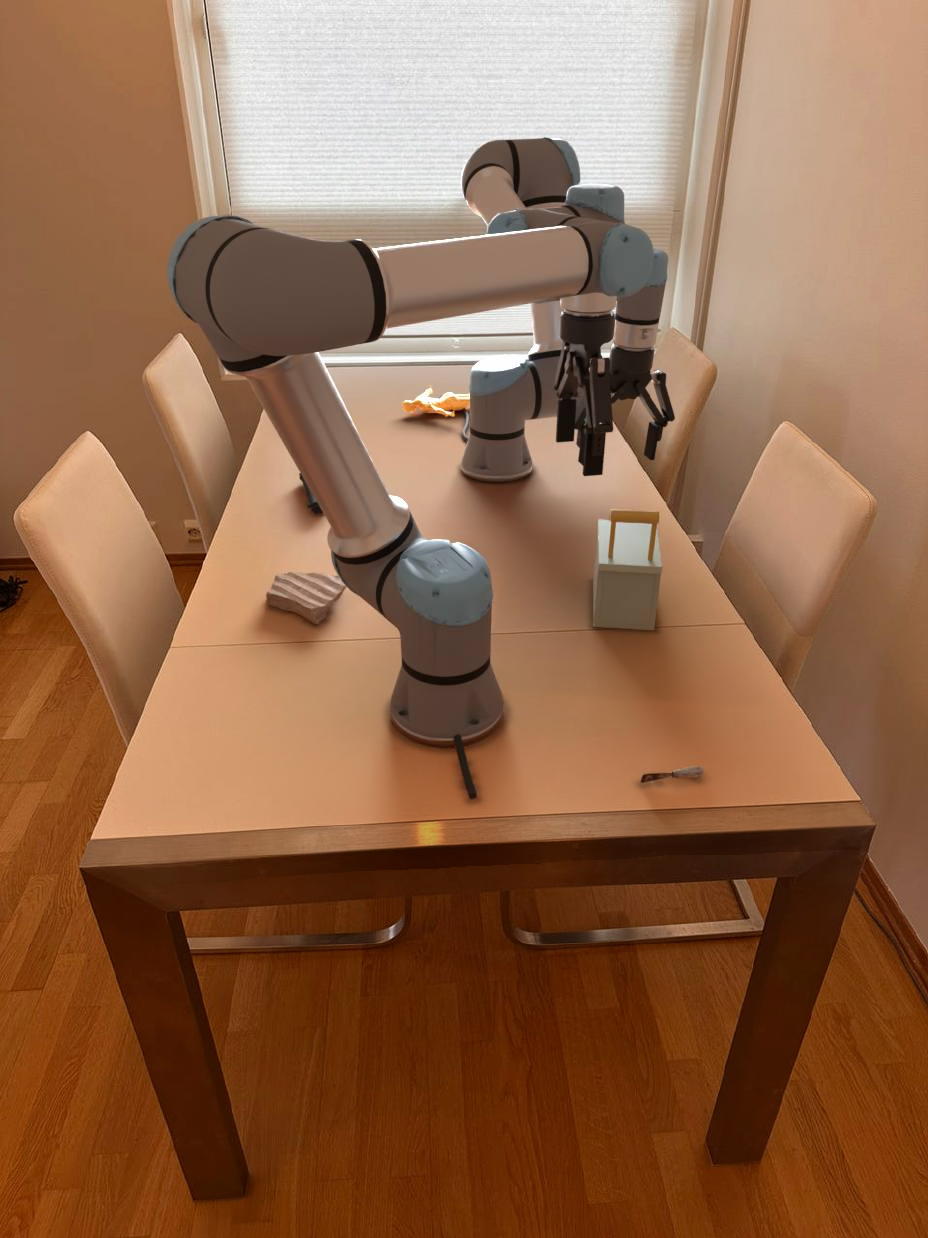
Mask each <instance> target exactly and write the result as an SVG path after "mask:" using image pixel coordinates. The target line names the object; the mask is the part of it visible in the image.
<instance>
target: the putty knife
mask: <svg viewBox="0 0 928 1238" xmlns="http://www.w3.org/2000/svg"><path fill="white" fill-rule="evenodd" d="M704 772H705V771H704V768H702V767H701V766H697V765H695V766H688V767H683V768H679V769H675V770H673V771H671V772H653V773H652V772H651V773H650V772H649V773H644V774H642V776H641V779H640V783H642V784H645V783H648V782H653V781H659V780H665V779H668V778H673V779H674V778H675V779H693V778H694V779H695V778H700V777H702V776H703V775H704Z"/></svg>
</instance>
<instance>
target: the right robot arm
mask: <svg viewBox="0 0 928 1238" xmlns="http://www.w3.org/2000/svg"><path fill="white" fill-rule="evenodd" d="M579 163H580V162H579V158H578V156H577V153H576V151H575V149H574V148H573V146H572V145H571V144H570V143H569V142H568V141H567V140H565V139H563V138H552V137H548V136H544V137H540V138H539V137H538V138H537V137H536V138H519V139H517V138H516V139H494V140H490V141H487V142H485V143H483V144H481V145H480V146H479V147H477V148H476V149H475V150H474V151H473V152H472V153H471V154H470V155H469V157H468V158H467V160H466V162H465V163H464V166H463V168H462V170H461V171H462V172H461V176H460V188H461V194H462V197H463V199H464V201H465V204H466V205H467V207H468V208H469V210H470V211H471V212H472V213H473V214H475V215H476V216H479V217H481V218H482V220H483V221H484V223H485V224H486V226H487V227H488V226H489V224H490V222H491V220H492V219H493V218H494V217H495V216H496V215H498V214H500V213H505V212H510V211H514V210H515V209H519V210H526V209H538V208H550V207H559V206H563V205H565V201H566V197H567V191H568V189H569V188H570V187H571V186H575V185H580V183H581V169H580V164H579ZM653 251H654V256H653V267H652V271H651V274H650V276H649V278H648V280H647V282H646V283H645V285H644V286H643V287H642V288H641V289H640V290H639V291H638V292H637V293H635V294H634V295H632V296H628V297H617V299H616V307H615V312H614V314H615V327H614V337H613V339H612V340H611V342H612V343H613V344H612V345H611V346H610V350H609V357H608V358H609V359H610V374H609V377H610V390H611V404H612V405H613V404H616V402H617V401H618V400H619V401H626V400H628V399H630V400H637V398H639V401H641V403H642V404H643V406H644V407H645V410H647V412H648V414H649V415H650V417H651V418H652V420H653V421H648V425H647V433H646V439H645V445H644V451H643V452H644V453H643V456H644V457H645V458H647V459H648V460H649V461H655V460H656V459H655V458H656V452H657V447H658V442H661V441H662V437H663V431H664V428H666V427H667V426H668V424H669V422H674V421H675V419H676V417H675V411H674V409H673V405H672V402H671V398H670V395H669V392H668V391H669V390H668V388H667V374H666V372H664V371H662V370H661V369H659V368H655V369H654V370H653V371H651V370H652V368H653V364H654V357H655V352H656V350H655V349H654V347H655V346H656V344H657V339H658V331H659V324H660V319H661V315H662V307H663V302H664V297H665V290H666V285H667V281H668V266H669V255H668V254H667V252H666V251H665V250H664V249H663V250H662V249H659V248H655V247H653ZM560 302H561V298H559V299H553V300H547V301H542V302H536V303H530V304H529V305H530V313H531V315H530V316H531V325H532V334H533V335H532V336H533V347H532V348H531V349H530V351H529V352H528V354H527V358H528V362H527V360H526V359H525V357H523V356H521V355H517V354H510V355H508V354H501V355H494V356H491V357H486V358H484V359H482V360H480V361H478V362H477V363H475V364H474V365H473V366H472V368H471V370H470V374H469V385H468V393H470V406H469V412H468V410H467V408H464V409H462V410H461V411H463V413H464V414H465V423H464V426H463V429H462V431H461V435H462V437H463V439H465V440H466V441H467V442H466V444H465V448H464V451H463V454H462V457H461V462H460V464H461V465H460V466H461V471H462V474H464V475H465V476H466V477H469V478H471V479H473V480H475V481H476V480H477V481H479V482H480V481H481V482H487V483H507V482H508V483H509V482H514V481H518V480H521V479H524V478H525V477H527V476H528V475H530V474H531V472H532V470H533V458H532V455H531V453H530V449H529V445H528V442H527V439H526V434H525V430H526V428H525V427H526V421H531V420H532V421H533V420H540V419H550V418H557V409H558V400H560V398H557V391H555V390H554V387H553V386H554V382H555V377H556V373H557V368H558V364H559V360H560V355H561V351H562V343H563V340H562V339H561V338H560V336H559V331H560V314H561V312H562V311H563V310H564V309H563V308H562V307H561V305H560ZM560 382H561V381H560ZM650 383H652V384H653V387H654V391H655V395H656V398H657V401H658V405H659V408H660V409H659V408H658V407H657V405H656V403H655V401H654V400H653V399H652V397H651V395H650V392H648V390H647V386H648V385H649V384H650ZM577 391H578V395H577V396H579V397H573V398H571V399H576V400H577V401H576V416H575V430H577V434H576V441H575V442H576V446H577V448H579V451H578V458H577V462H578V463H579V464H580V465H581V466H583V463H584V449H585V435H586V434H585V433H584V430H585V429H586V428H588V421H587V415H586V409H585V402H584V396H583V390H582V388H580V387H578V389H577ZM443 395H444V394H441V395H440V398H441V397H442V396H443ZM660 411H661V412H660ZM468 427H469V436H467V435H466V431H467V429H468Z"/></svg>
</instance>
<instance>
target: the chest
mask: <svg viewBox="0 0 928 1238" xmlns="http://www.w3.org/2000/svg"><path fill="white" fill-rule="evenodd" d="M596 530H597V531H596V544H595V553H594V554H595V556H594V567H593V579H592V612H593V613H592V627H593V628H606V629H607V628H608V629H621V630H623V629H624V630H637V631H638V630H640V631H655V625H656V617H657V610H658V601H659V594H660V585H661V580H662V579H661V577H662V574H652V573H633V572H615V571H599V570H598V529H596Z"/></svg>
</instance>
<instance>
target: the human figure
mask: <svg viewBox="0 0 928 1238" xmlns="http://www.w3.org/2000/svg"><path fill="white" fill-rule="evenodd" d="M424 391H425V392H423V393H422V394H420V395H418V396H416V398H415V399H414V400H404V401H403V402H402V411H404V412H405V413H410V414H412V413H414V412H417V408H418V409H420V410H421V411H423V412H424V413H427V414H439V415H443V416H444V417H449V416H450V417H451V418H452V417H453V418H454V417H455V416H456V414H455V411H463V410H462V409H464V408H465V409H467V408H470V392H468V394H460V393H457V394H455V393H453V392H446V393H444V394H442V395H443V396H442V397H441V396H440V398H434V397H429V396H430V395H432V394H433V392H434V391H433V389H432V385H429V387H428V389H424ZM450 410H452V411H450Z"/></svg>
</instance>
